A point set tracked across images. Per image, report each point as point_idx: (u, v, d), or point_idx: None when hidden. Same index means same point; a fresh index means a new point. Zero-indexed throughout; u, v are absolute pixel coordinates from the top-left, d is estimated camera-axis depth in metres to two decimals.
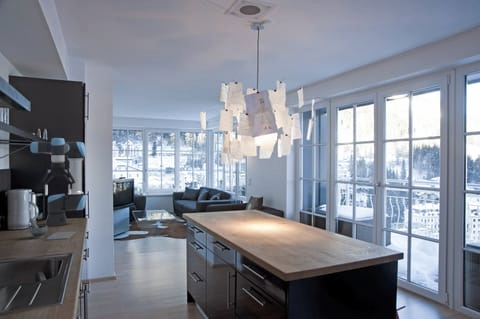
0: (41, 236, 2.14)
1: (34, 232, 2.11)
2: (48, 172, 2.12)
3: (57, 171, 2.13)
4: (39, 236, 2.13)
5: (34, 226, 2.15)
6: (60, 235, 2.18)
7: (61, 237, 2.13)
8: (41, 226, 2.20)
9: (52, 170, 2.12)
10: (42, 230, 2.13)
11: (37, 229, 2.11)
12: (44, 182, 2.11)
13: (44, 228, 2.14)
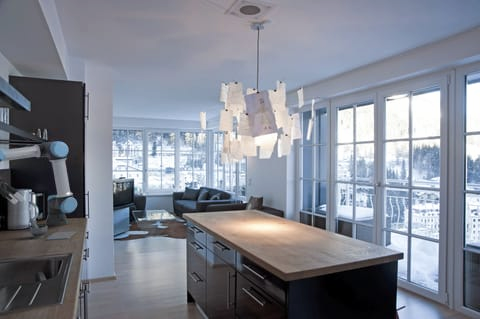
0: (41, 236, 2.14)
1: (34, 232, 2.11)
2: None
3: None
4: (39, 236, 2.13)
5: (34, 226, 2.15)
6: (60, 235, 2.18)
7: (61, 237, 2.13)
8: (41, 226, 2.20)
9: None
10: (42, 230, 2.13)
11: (37, 229, 2.11)
12: (12, 193, 2.18)
13: (44, 228, 2.14)
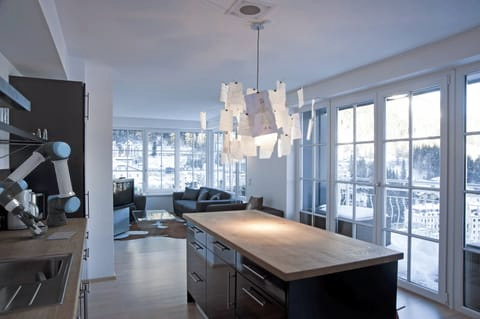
0: (41, 236, 2.14)
1: (34, 232, 2.11)
2: None
3: None
4: (39, 236, 2.13)
5: None
6: (60, 235, 2.18)
7: (61, 237, 2.13)
8: (41, 226, 2.20)
9: None
10: (42, 230, 2.13)
11: None
12: None
13: (44, 228, 2.14)
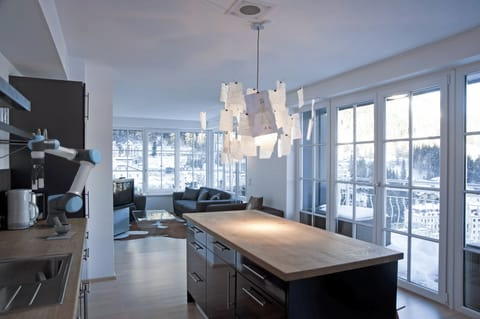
0: (65, 234, 2.18)
1: (58, 230, 2.15)
2: None
3: None
4: (63, 234, 2.17)
5: (58, 224, 2.18)
6: None
7: (61, 237, 2.13)
8: (64, 224, 2.23)
9: None
10: (66, 228, 2.17)
11: (61, 227, 2.15)
12: None
13: (68, 226, 2.18)
